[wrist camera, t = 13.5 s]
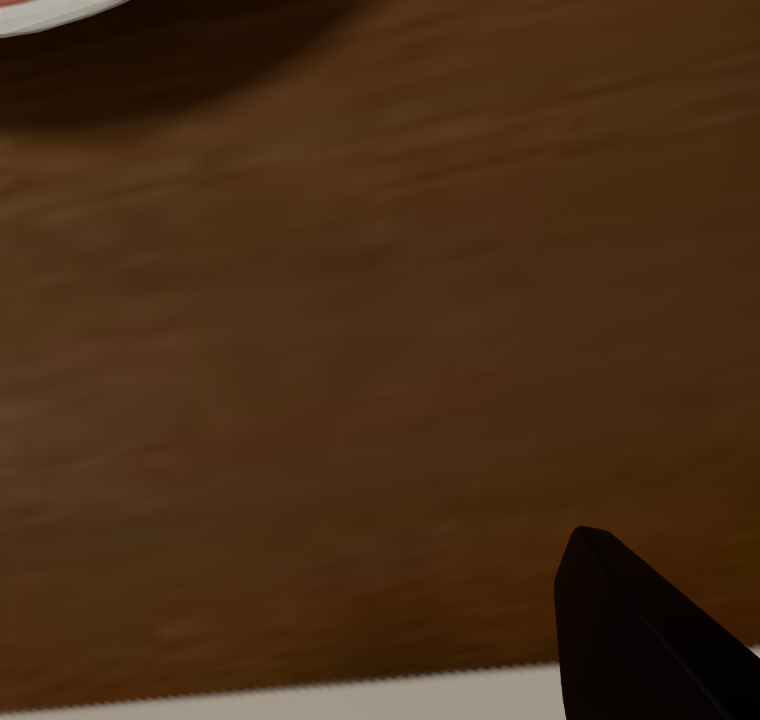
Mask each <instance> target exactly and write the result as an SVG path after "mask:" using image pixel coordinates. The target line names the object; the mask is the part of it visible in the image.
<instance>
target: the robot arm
mask: <svg viewBox="0 0 760 720" xmlns="http://www.w3.org/2000/svg"><path fill="white" fill-rule="evenodd" d="M554 602H555V615H556V627H557V639H558V651H559V663H560V675H561V686H562V695H563V703H564V708H565V715H566V720H760V658H759V657H758V656H756V655H755V654H754V653H753V652H752V651H751V650H749V649H748V648H747V647H746V646H745V645H743V644H742V643H741V642H740V641H739V640H737V639H736V638H735V637H734V636H733V635H731V634H730V633H729V632H728V631H727V630H726V629H724V628H723V627H722V626H721V625H720V624H718V623H717V622H716V621H715V620H714V619H712V618H711V617H710V616H709V615H708V614H707V613H705V612H704V611H703V610H702V609H701V608H699V607H698V606H697V605H696V604H695V603H693V602H692V601H691V600H690V599H689V598H687V597H686V596H685V595H684V594H683V593H682V592H680V591H679V590H678V589H677V588H676V587H674V586H673V585H672V584H671V583H670V582H668V581H667V580H666V579H665V578H664V577H663V576H661V575H660V574H659V573H658V572H657V571H655V570H654V569H653V568H652V567H651V566H649V565H648V564H647V563H646V562H645V561H644V560H642V559H641V558H640V557H639V556H638V555H636V554H635V553H634V552H633V551H632V550H630V549H629V548H628V547H627V546H626V545H624V544H623V543H622V542H621V541H620V540H619V539H617V538H616V537H615V536H614V535H613V534H611V533H610V532H609V531H606V530H602V529H597V528H592V527H587V526H578V527H577V528H575V529H574V531H573V532H572V534H571V536H570V539H569V541H568V544H567V547H566V550H565V552H564V555H563V558H562V560H561V563H560V566H559V568H558V571H557V574H556V577H555V582H554Z"/></svg>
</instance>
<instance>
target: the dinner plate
mask: <svg viewBox="0 0 760 720" xmlns="http://www.w3.org/2000/svg"><path fill="white" fill-rule="evenodd" d="M127 1H130V0H0V38H5V37H11V36H17V35H24V34H30V33H37V32H41V31H44V30H48V29H51V28H54V27H58V26H61V25H64V24H67V23H71V22H74V21H77V20H81V19H84V18H87V17H90V16H93V15H96V14H98V13H101V12H103V11H106V10H109V9H111V8H114V7H116V6H119V5H121V4H123V3H125V2H127Z"/></svg>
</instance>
